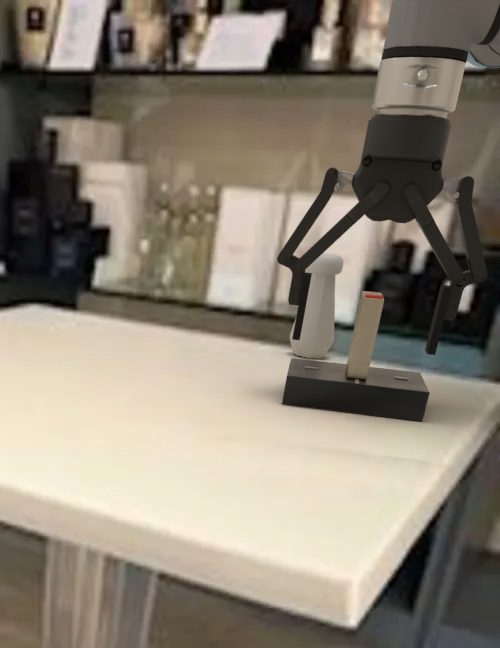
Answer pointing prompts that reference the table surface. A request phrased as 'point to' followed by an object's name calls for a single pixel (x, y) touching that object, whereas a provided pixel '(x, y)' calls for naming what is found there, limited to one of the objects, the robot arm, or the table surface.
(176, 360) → the table surface
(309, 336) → the salt shaker
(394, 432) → the table surface
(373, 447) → the table surface
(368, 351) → the beige rectangular block
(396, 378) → the rectangular base
